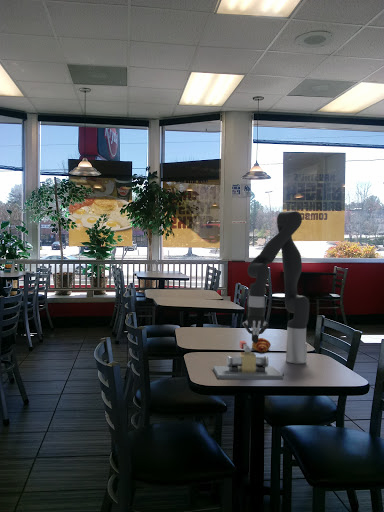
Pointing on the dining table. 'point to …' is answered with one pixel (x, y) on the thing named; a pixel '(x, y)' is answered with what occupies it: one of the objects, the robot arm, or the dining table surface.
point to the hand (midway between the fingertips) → (254, 342)
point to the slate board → (225, 373)
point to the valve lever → (245, 347)
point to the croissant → (261, 345)
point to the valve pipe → (247, 363)
